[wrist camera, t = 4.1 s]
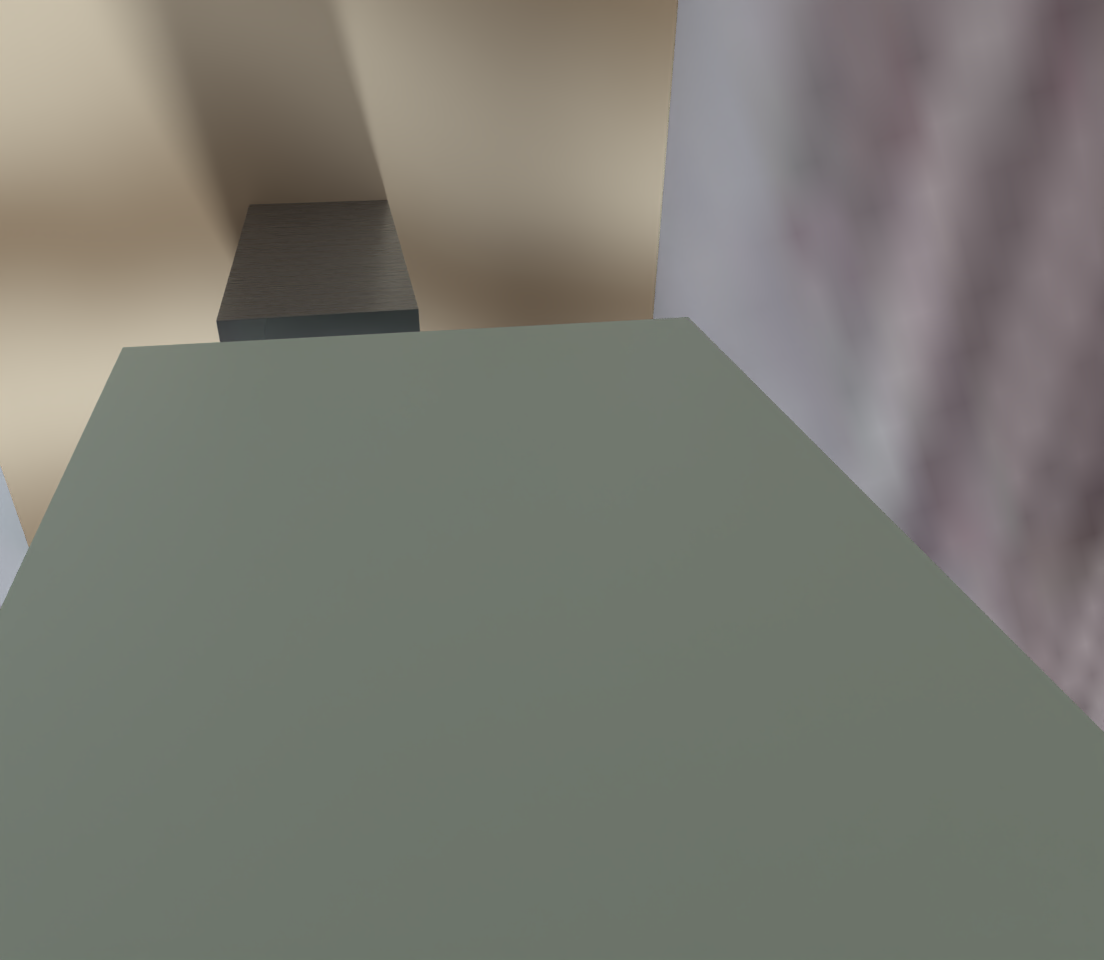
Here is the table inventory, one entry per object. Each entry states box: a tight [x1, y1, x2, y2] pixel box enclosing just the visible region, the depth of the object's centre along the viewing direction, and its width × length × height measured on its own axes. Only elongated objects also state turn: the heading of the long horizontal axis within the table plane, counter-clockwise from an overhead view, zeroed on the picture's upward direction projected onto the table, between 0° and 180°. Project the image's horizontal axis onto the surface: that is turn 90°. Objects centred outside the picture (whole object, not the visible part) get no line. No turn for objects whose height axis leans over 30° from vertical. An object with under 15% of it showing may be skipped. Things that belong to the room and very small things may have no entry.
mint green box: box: [0, 317, 1104, 960], centre depth 7 cm, size 5×5×7 cm
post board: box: [0, 0, 678, 547], centre depth 18 cm, size 14×14×1 cm
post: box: [216, 200, 420, 342], centre depth 15 cm, size 3×3×6 cm
